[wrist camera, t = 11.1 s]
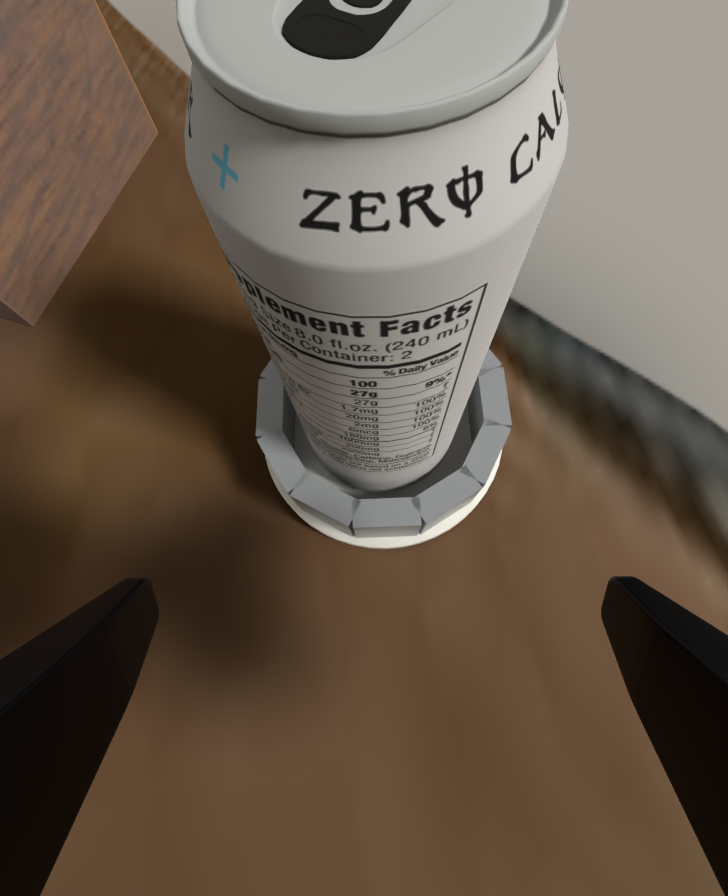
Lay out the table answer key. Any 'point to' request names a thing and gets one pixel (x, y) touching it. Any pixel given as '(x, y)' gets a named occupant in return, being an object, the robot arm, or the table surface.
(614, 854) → the table surface
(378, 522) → the dock
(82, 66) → the tissue box cover
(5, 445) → the table surface
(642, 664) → the robot arm
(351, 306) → the energy drink can
